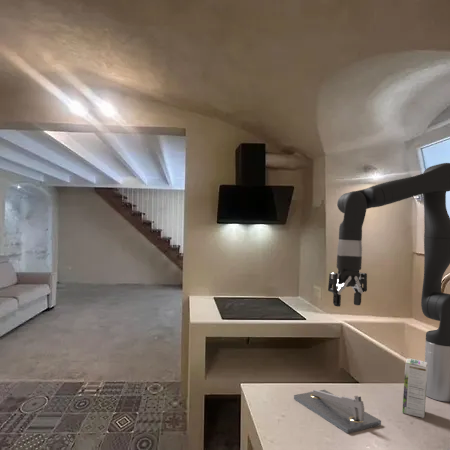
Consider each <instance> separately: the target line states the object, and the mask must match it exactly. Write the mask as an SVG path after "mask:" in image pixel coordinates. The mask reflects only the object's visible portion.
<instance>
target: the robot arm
mask: <svg viewBox="0 0 450 450" xmlns="http://www.w3.org/2000/svg"><path fill="white" fill-rule="evenodd" d="M447 192H450V162H443V163H438V164H435V165H431V166H429V167H427V168H426V169H425V170H424V171H423V173H421V174H417V175H413V176H409V177H404V178H398V179H394V180H390V181H386V182H382V183H378V184H375V185H372V186H369V187H367V188H363V189H359V190H354V191H348V192H346V193H343V194H342V195H340V196H339V198H338V200H337V208H338V210H339V211H340V213H342V214H343V220H342V222H341V223H340V224H339V226H338V227H339V228H338V241H337V242H338V243H337V248H336V249H337V250H336V268H337V272H333V271H332V272H330V273H329V276H328V286H327V287H328V288H327V291H328V292H330V293H332V294H333V295H332V296H333V297H332V298H333V299H332V303H333V306H335V307H341V301H342V299H341V298H342V295H341V294H342V292H343V290H345V289H346V288H348V287H351V288H352V290H353V291H354V293H353V304H354V305H355V306H361V304H362V296H363V295H362V294H363V293H364V292H367V291H368V273H367V272H366V273H365V272H360V271H361V270H362V264H363V263H362V261H363V259H362V258H363V244H362V243H363V238H362V237H363V225H364V222H365V217H366V213H367V210H368V209H372V208H373V209H374V208H380V207H382V206H383V207H384V206H386V205H391V204H394V203H396V202H400V201H403V200H407V199H409V198H413V197H416V196H420V195H422V198H423V209H424V210H423V211H424V212H423V213H424V214H423V221H424V222H423V224H424V225H423V227H424V231H423V232H424V234H423V235H424V236H423V251H424V254H423V255H424V259H423V260H424V261H423V262H424V263H423V281H422V290H421V302H420V307H421V312H422V314H423V315H424V316H425V318H427V319H431V320H433V321H438V322H439V325H438V328H436V329H433V330H428V331H427V332H425V346H424V347H425V349H424V350H425V351H424V362H427V363H428V367H427V386H426V397H428V398H430V399H433V400H435V401H439V402H450V293H445V292H442V283H443V277H444V274H445V273H446V271H447V269H448V267H449V266H450V214H449V212H448V209H447V195H446V194H447Z"/></svg>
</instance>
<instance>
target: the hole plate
mask: <svg viewBox="0 0 450 450" xmlns="http://www.w3.org/2000/svg"><path fill="white" fill-rule="evenodd" d="M319 391H322V392H325V393H329V394H332V395H334V394H333V393H332V392H330V391H328V390H326V389H321V390H319ZM310 392H311V391H308V392H304V393H299V394H298V393H297V394H294V395H293V400H294V401H295V402H298V403H299V404H301V405H302V406H304V407H306V409H309V410H310V411H311V412H313V413H315V414H316V413H317V415H318V416H319V415H320V416H319V417H321V418H323V419H324V418H325V419H324V420H325V421H327V422H329V423H330V424H332V425H333V426H335V427H336V428H338V429H340V430H342V431H343V432H344V433H345V434H352V433H355V432H358V431H359V432H360V431H363V430H367V428H368V429H371V428H374V427H378V426H381V425H382V420H380V419H379V418H377V417H375V416H373V415H372V414H369V413H368V412H366V411H364V421H360V419H359V420H355V418H354V415H353V412H352V408H346V407H343V405H342V404H341V403H338V402H335V401H331V400H328V399H325V398H321V397H318V396H314V395H313V393H310ZM358 415H359V412H358ZM358 417H359V416H358Z"/></svg>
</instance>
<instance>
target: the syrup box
mask: <svg viewBox="0 0 450 450" xmlns="http://www.w3.org/2000/svg"><path fill="white" fill-rule="evenodd" d="M427 367H428V363H427V362H425V360H420V359H416V358H415V359H414V358H406V361H405V366H404V378H403V379H404V381H403V395H402V399H403V400H402V413H403V414H404V415H405V414H406V415H408V416H409V415H410V416H414V417H417V418H422V419H425V414H426V402H427V401H426V400H427V396H426V386H427Z"/></svg>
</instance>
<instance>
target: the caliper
mask: <svg viewBox="0 0 450 450" xmlns="http://www.w3.org/2000/svg"><path fill="white" fill-rule="evenodd" d="M309 392H310V393H313V395H314V396H318V397H321V398H325V399H328V400H331V401H335V402H338V403H341V404H342V405H343V407H346V408H352V412H353V415H354V418H355V420H359V419H360V421H364V412H365V405H364V401H362V396H358V395H354V398H353V397H349V396H345V395H344V396H339V395H337V394H336V395H335V394H333V393H332V394H333V395H332V394H329V393H325V392H322V391H320V390H318V389H313V390H311V391H309ZM358 412H359V415H358ZM358 416H359V417H358Z"/></svg>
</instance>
